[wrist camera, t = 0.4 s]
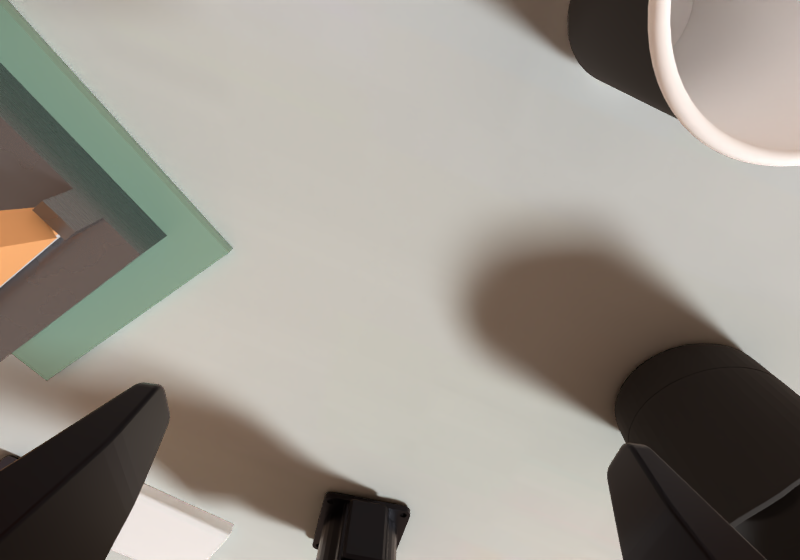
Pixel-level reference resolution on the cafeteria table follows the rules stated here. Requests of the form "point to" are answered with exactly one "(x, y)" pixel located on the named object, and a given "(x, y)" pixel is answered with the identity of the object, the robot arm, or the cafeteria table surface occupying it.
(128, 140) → the green flat slab
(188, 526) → the external hard drive
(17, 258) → the orange upright panel
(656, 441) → the pen holder
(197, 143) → the cafeteria table surface
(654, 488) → the robot arm
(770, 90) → the dixie cup
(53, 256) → the grey stand
